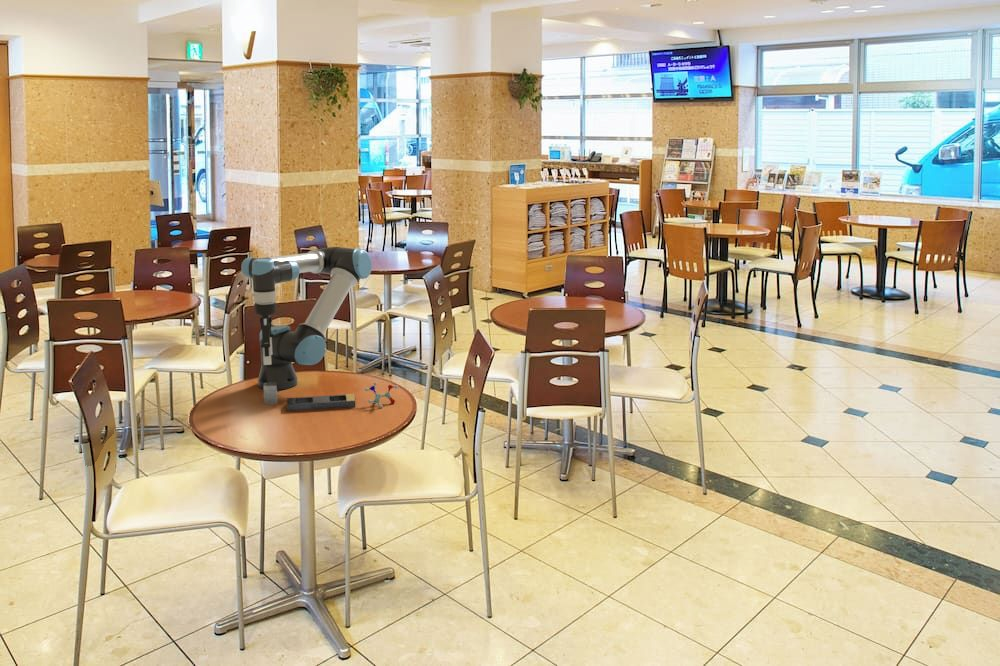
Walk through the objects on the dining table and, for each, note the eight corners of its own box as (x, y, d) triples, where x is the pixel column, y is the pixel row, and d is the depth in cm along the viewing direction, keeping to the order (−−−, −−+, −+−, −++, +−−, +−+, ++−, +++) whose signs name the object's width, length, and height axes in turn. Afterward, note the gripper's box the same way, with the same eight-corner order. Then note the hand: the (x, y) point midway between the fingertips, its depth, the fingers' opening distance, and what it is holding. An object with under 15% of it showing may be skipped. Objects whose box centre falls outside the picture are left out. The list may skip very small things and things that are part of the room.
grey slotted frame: (287, 404, 321) (287, 397, 320) (354, 400, 326) (353, 393, 325) (287, 411, 313) (287, 404, 313) (355, 407, 318) (355, 400, 318)
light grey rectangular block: (265, 400, 325) (263, 382, 323) (277, 400, 326) (276, 382, 324) (264, 404, 321) (263, 386, 319) (277, 403, 322) (276, 385, 320)
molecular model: (390, 401, 313) (380, 376, 315) (368, 412, 316) (358, 387, 318) (404, 401, 324) (394, 376, 326) (383, 412, 327) (374, 387, 329)
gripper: (255, 296, 325) (258, 351, 330) (252, 310, 301) (255, 369, 306) (276, 295, 327) (279, 350, 332) (274, 309, 303) (278, 368, 308)
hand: (268, 359), depth 319 cm, fingers open, 13 cm apart
